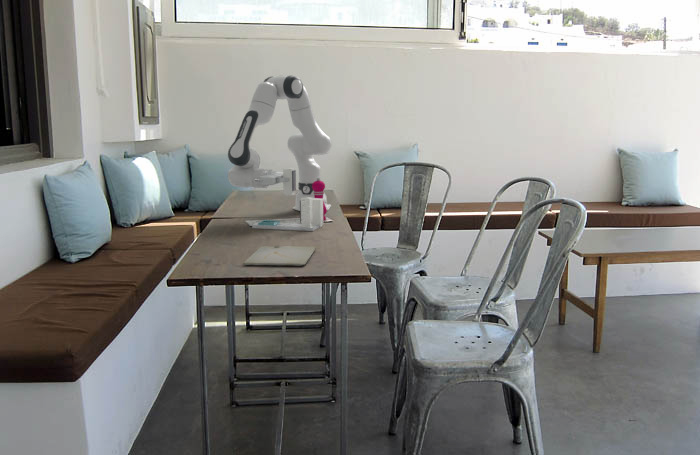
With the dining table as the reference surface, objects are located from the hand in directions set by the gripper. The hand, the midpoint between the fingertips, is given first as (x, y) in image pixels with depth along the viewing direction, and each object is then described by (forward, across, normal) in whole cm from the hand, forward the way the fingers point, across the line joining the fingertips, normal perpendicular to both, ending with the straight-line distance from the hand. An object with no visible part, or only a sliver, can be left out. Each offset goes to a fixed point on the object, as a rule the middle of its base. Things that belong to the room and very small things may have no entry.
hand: (290, 179), depth 279 cm
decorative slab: (+20, -63, +21) cm, 70 cm away
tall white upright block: (-1, 0, +7) cm, 7 cm away
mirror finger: (+14, -3, +20) cm, 24 cm away
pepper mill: (+10, +11, +20) cm, 25 cm away
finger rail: (+2, -11, +20) cm, 23 cm away
